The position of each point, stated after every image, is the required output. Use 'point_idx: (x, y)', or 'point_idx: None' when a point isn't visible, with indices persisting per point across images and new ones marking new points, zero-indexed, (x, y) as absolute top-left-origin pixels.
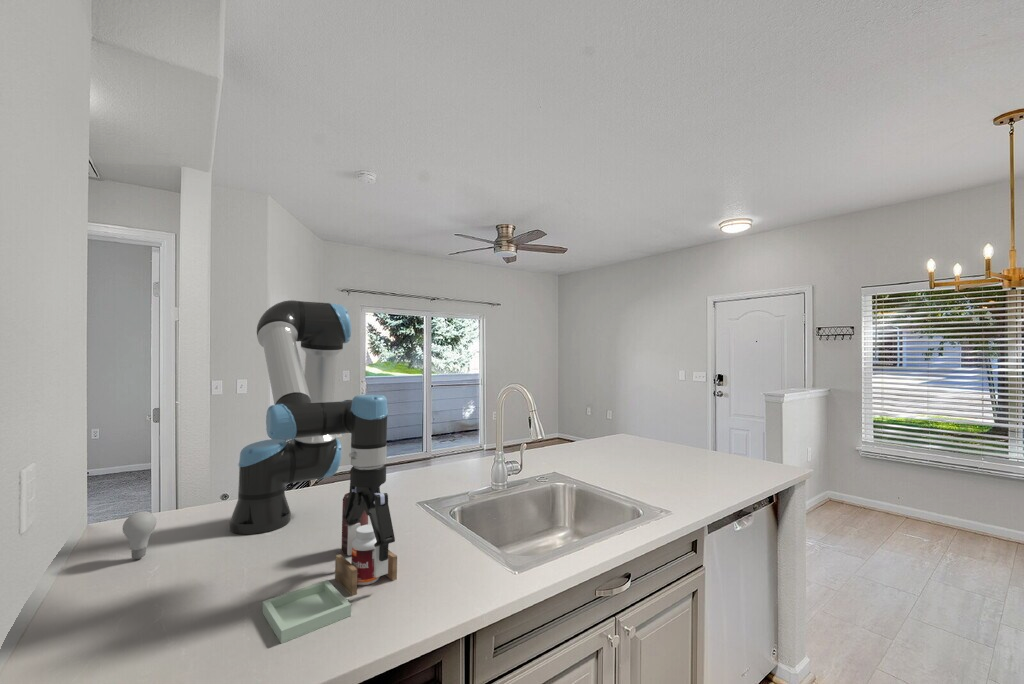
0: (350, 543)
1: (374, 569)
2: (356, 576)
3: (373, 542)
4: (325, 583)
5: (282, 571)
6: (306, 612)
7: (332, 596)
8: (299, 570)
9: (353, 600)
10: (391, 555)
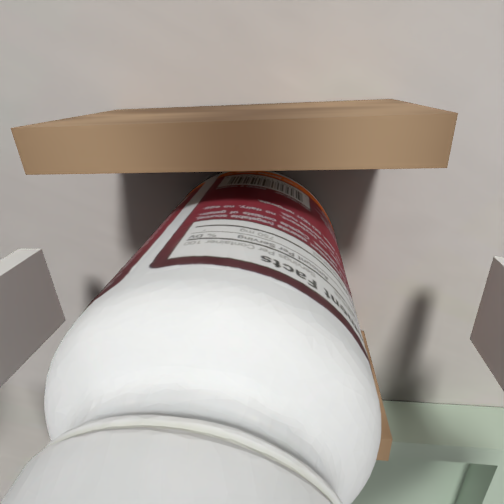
0: (2, 367)
1: (496, 375)
2: (381, 403)
3: (364, 464)
4: None
5: (3, 431)
6: (367, 493)
7: None
8: (18, 397)
9: (402, 358)
10: (391, 159)
